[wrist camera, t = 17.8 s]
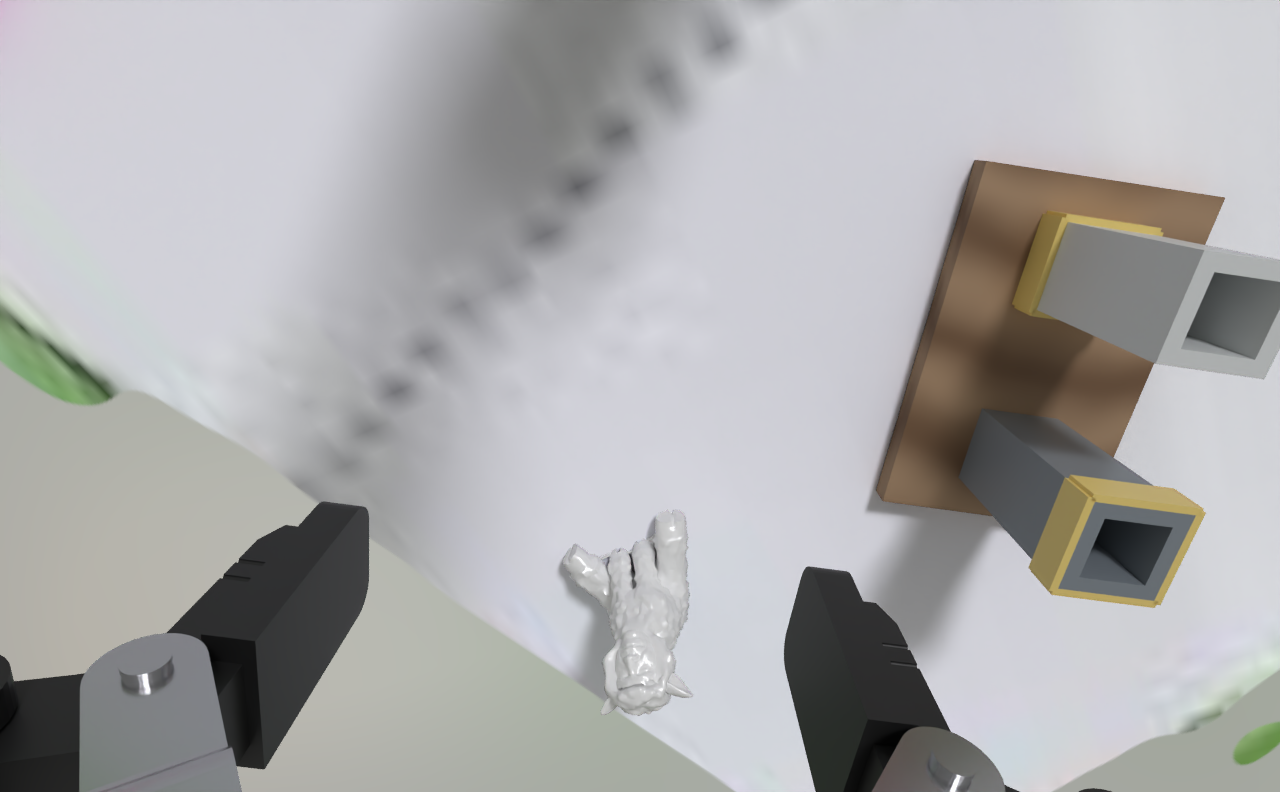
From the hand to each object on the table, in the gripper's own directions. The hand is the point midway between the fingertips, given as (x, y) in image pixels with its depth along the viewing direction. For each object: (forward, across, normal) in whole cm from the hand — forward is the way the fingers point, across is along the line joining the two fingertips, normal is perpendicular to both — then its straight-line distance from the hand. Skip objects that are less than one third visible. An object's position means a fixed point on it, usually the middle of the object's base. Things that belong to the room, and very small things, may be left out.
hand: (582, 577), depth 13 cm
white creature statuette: (+32, -4, +22) cm, 39 cm away
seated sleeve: (+31, -26, -4) cm, 40 cm away
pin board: (+32, -26, +2) cm, 41 cm away
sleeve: (+31, -26, +8) cm, 41 cm away
